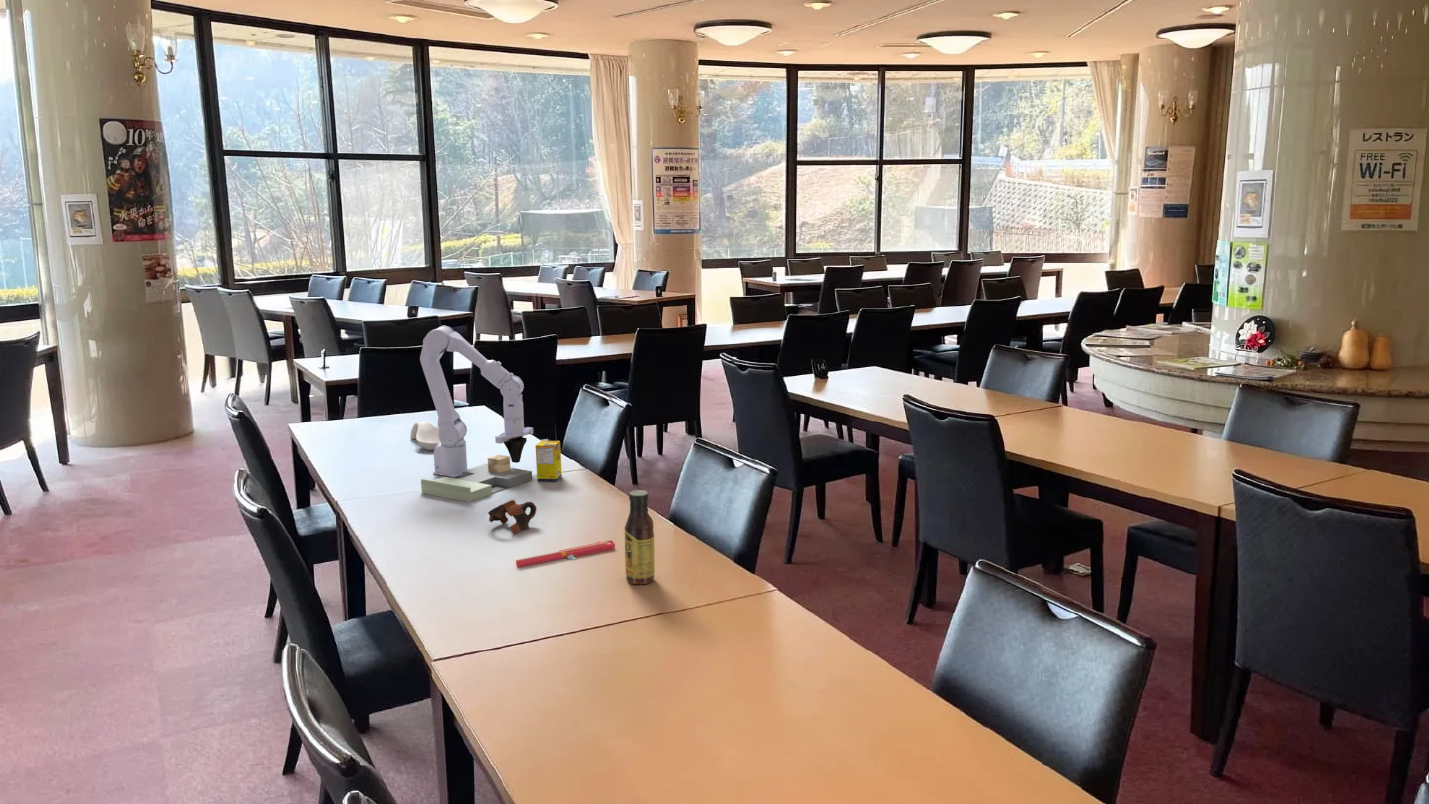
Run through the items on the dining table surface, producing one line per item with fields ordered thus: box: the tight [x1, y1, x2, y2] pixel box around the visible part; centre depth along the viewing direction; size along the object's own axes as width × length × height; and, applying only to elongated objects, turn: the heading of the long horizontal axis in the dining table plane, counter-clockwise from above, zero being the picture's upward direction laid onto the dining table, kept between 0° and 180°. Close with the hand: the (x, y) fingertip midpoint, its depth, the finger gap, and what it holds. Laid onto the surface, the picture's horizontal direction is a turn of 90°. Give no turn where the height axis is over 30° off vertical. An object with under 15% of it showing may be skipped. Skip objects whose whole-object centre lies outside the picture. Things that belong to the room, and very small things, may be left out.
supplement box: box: [535, 440, 563, 482], centre depth 297 cm, size 6×6×11 cm
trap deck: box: [420, 463, 533, 503], centre depth 291 cm, size 18×26×4 cm
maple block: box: [487, 454, 511, 473], centre depth 298 cm, size 4×4×4 cm
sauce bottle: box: [624, 489, 656, 585], centre depth 215 cm, size 6×6×20 cm
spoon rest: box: [409, 420, 441, 451], centre depth 341 cm, size 24×12×7 cm, turn 37°
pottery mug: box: [487, 499, 537, 535], centre depth 254 cm, size 12×10×8 cm
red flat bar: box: [515, 539, 616, 568], centre depth 232 cm, size 24×2×5 cm
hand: (515, 461), depth 304 cm, fingers closed
